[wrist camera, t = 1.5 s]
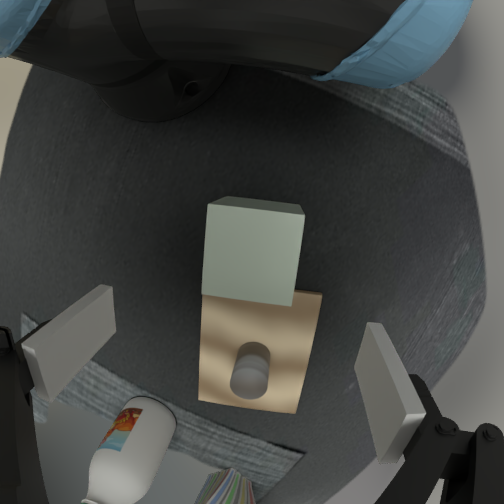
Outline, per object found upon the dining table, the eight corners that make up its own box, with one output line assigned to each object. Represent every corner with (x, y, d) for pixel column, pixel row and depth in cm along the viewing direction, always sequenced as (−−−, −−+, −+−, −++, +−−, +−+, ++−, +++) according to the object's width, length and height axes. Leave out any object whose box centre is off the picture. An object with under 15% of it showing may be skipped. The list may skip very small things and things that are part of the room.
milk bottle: (170, 397, 37) (111, 519, 18) (182, 436, 39) (138, 548, 20) (120, 391, 38) (49, 494, 19) (134, 429, 40) (80, 528, 21)
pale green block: (227, 196, 31) (207, 203, 23) (299, 204, 30) (305, 215, 22) (220, 265, 32) (201, 294, 25) (289, 274, 32) (291, 306, 24)
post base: (205, 277, 33) (188, 300, 27) (321, 292, 32) (329, 319, 26) (199, 395, 37) (187, 429, 31) (295, 409, 36) (295, 445, 30)
